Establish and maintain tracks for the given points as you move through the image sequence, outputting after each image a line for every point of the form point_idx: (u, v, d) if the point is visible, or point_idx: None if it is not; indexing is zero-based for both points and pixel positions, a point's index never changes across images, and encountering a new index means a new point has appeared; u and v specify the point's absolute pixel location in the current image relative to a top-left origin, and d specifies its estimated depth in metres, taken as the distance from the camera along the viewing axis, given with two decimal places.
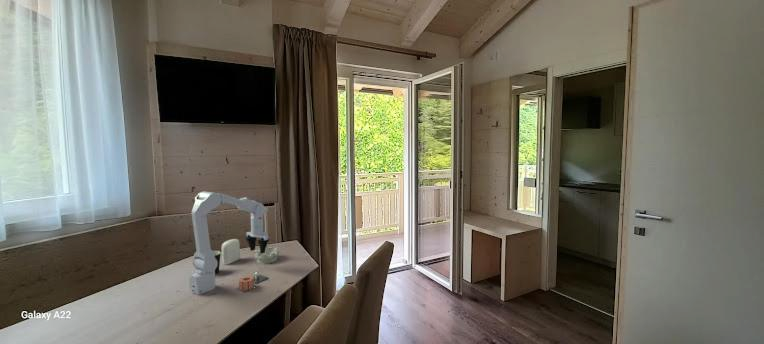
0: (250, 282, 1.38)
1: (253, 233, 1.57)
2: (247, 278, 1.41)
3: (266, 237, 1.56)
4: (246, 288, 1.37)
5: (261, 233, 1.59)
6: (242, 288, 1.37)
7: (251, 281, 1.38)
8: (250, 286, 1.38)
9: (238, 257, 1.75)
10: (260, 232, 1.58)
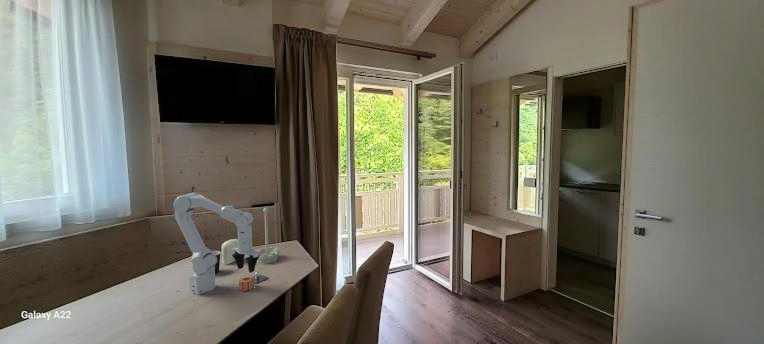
0: (250, 282, 1.38)
1: (240, 249, 1.35)
2: (247, 278, 1.41)
3: (255, 254, 1.34)
4: (246, 288, 1.37)
5: (250, 249, 1.37)
6: (242, 288, 1.37)
7: (251, 281, 1.38)
8: (250, 286, 1.38)
9: None
10: (249, 248, 1.36)
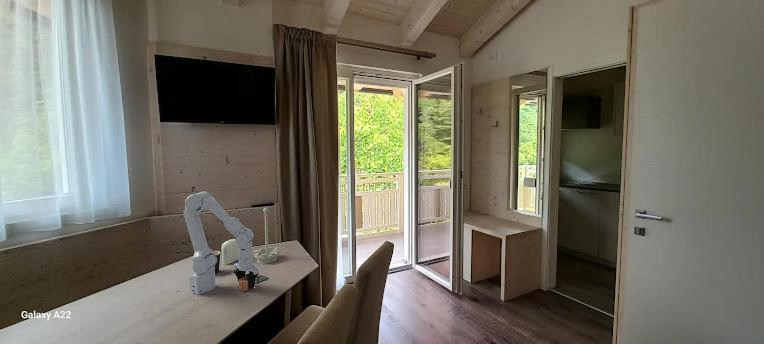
0: None
1: (241, 266, 1.36)
2: None
3: (256, 271, 1.35)
4: (246, 288, 1.37)
5: (250, 266, 1.38)
6: (242, 288, 1.37)
7: None
8: None
9: (238, 257, 1.75)
10: (249, 265, 1.37)
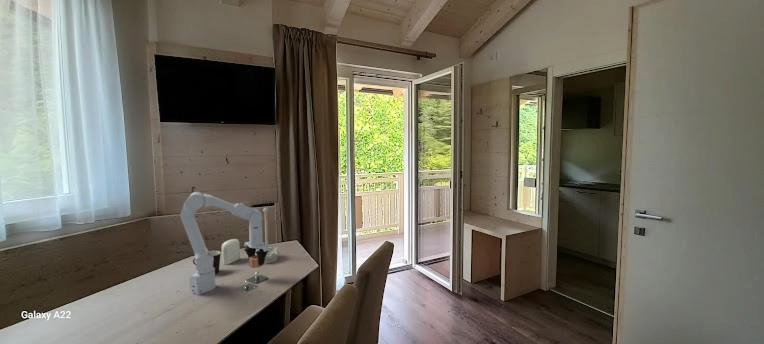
0: None
1: (252, 244, 1.44)
2: (257, 256, 1.48)
3: (266, 248, 1.43)
4: (256, 265, 1.44)
5: (260, 244, 1.45)
6: (252, 265, 1.44)
7: None
8: None
9: (238, 257, 1.75)
10: (259, 242, 1.45)
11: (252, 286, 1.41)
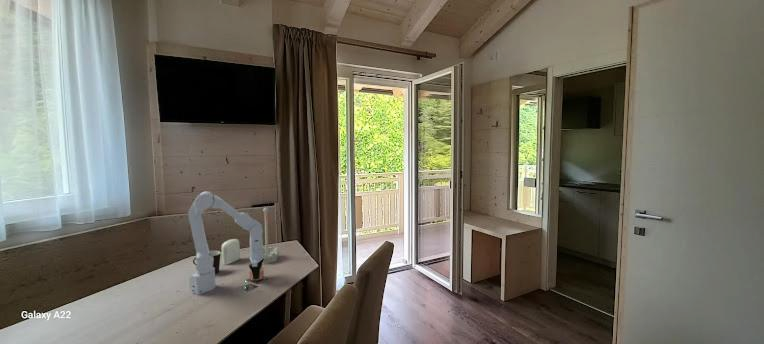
0: None
1: (250, 255, 1.46)
2: None
3: (254, 264, 1.40)
4: (252, 278, 1.45)
5: (256, 257, 1.44)
6: (250, 277, 1.46)
7: None
8: None
9: (238, 257, 1.75)
10: (255, 256, 1.44)
11: (252, 286, 1.41)
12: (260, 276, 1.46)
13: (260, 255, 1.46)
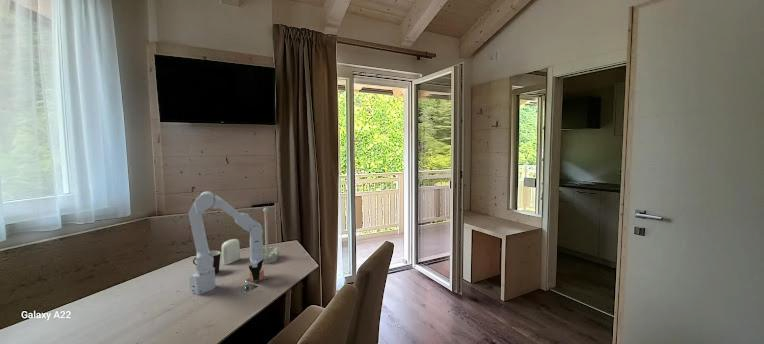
0: None
1: (250, 256, 1.46)
2: None
3: (253, 264, 1.40)
4: (252, 279, 1.45)
5: (256, 258, 1.45)
6: (250, 278, 1.46)
7: None
8: None
9: (238, 257, 1.75)
10: (255, 257, 1.44)
11: (252, 286, 1.41)
12: (260, 277, 1.46)
13: (260, 256, 1.46)
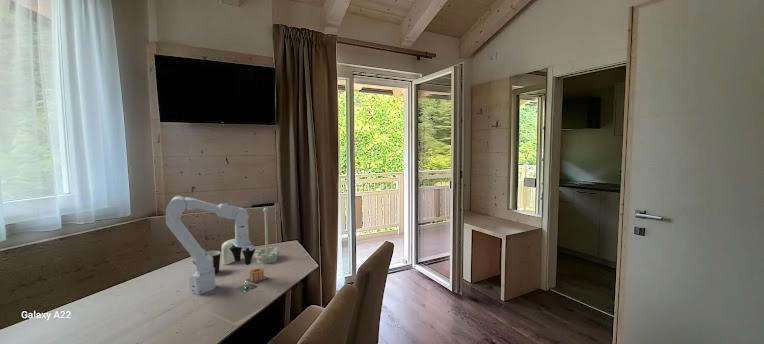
0: (255, 274, 1.45)
1: (237, 243, 1.42)
2: (259, 270, 1.49)
3: (252, 247, 1.41)
4: (252, 279, 1.45)
5: (246, 243, 1.44)
6: (250, 278, 1.46)
7: (256, 274, 1.45)
8: (255, 278, 1.45)
9: None
10: (245, 242, 1.43)
11: (252, 286, 1.41)
12: (260, 277, 1.46)
13: (248, 240, 1.45)
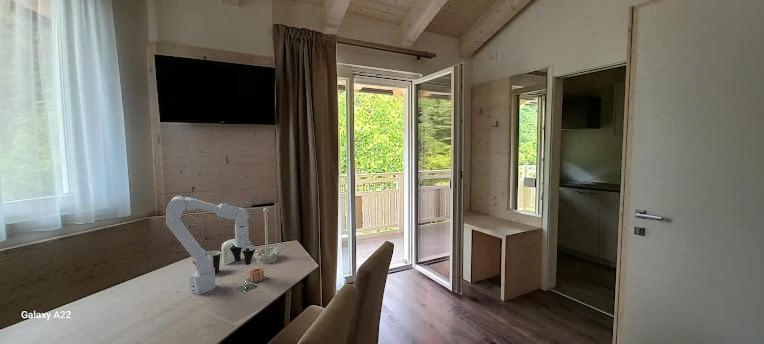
0: (255, 274, 1.45)
1: (237, 243, 1.42)
2: (259, 270, 1.49)
3: (252, 247, 1.41)
4: (252, 279, 1.45)
5: (246, 243, 1.44)
6: (250, 278, 1.46)
7: (256, 274, 1.45)
8: (255, 278, 1.45)
9: None
10: (245, 242, 1.43)
11: (252, 286, 1.41)
12: (260, 277, 1.46)
13: (248, 240, 1.45)
